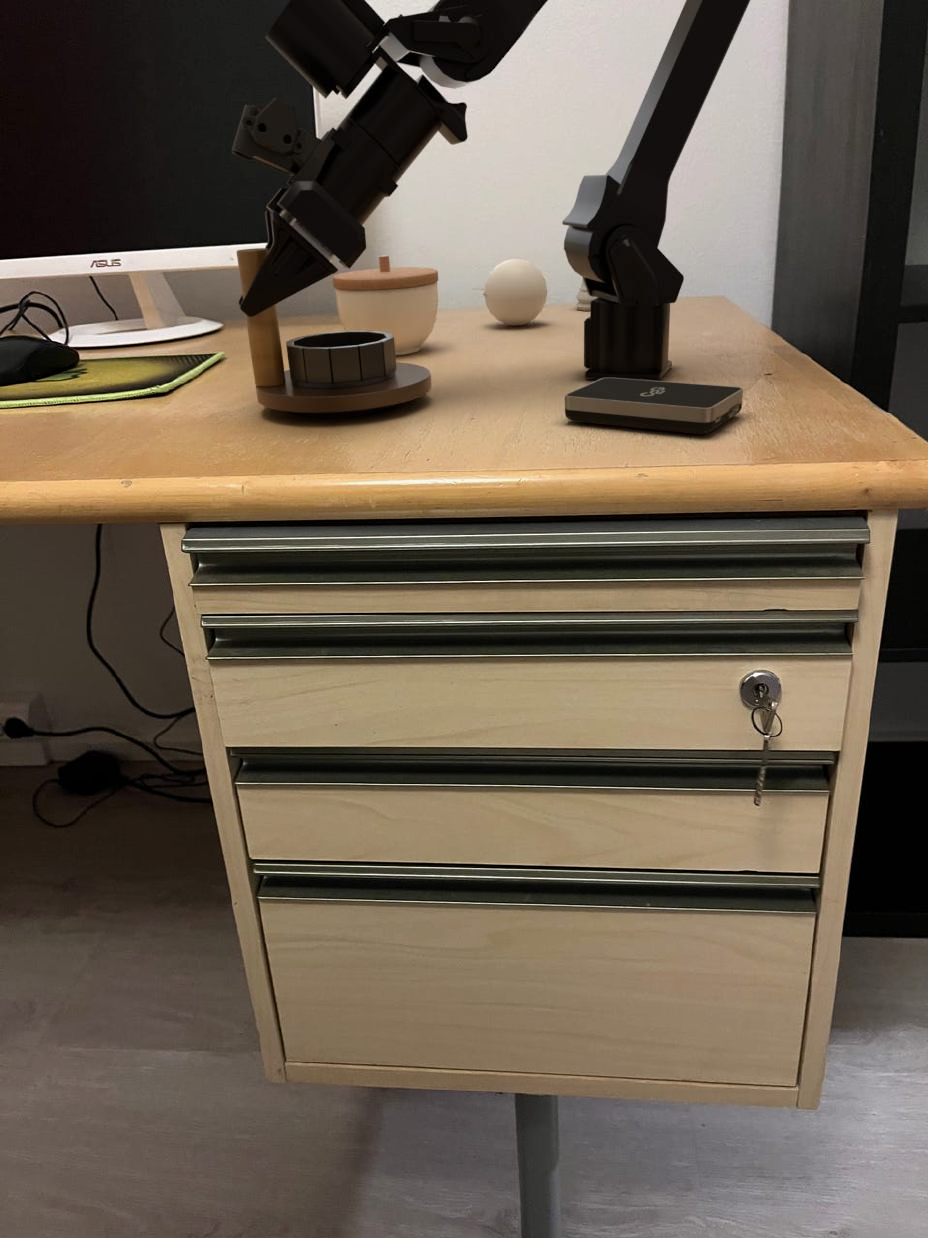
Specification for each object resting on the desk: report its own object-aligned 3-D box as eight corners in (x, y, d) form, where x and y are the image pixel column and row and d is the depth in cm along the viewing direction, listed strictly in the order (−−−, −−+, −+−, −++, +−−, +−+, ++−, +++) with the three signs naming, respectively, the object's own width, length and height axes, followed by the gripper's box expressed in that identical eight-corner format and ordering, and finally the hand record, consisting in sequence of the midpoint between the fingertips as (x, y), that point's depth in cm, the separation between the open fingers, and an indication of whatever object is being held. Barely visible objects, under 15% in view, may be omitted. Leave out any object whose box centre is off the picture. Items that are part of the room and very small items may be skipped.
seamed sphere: (561, 323, 111) (560, 256, 108) (515, 332, 107) (514, 262, 104) (502, 317, 118) (500, 254, 115) (457, 325, 114) (454, 259, 111)
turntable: (417, 369, 84) (408, 233, 80) (445, 402, 72) (436, 243, 67) (257, 383, 82) (238, 244, 78) (257, 420, 70) (234, 257, 65)
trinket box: (429, 359, 94) (422, 258, 90) (326, 361, 96) (315, 262, 92) (452, 341, 104) (447, 249, 100) (358, 342, 106) (349, 252, 102)
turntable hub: (411, 395, 80) (410, 383, 79) (369, 419, 73) (368, 406, 72) (326, 393, 82) (325, 381, 82) (278, 415, 76) (276, 402, 75)
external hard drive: (708, 439, 63) (710, 408, 62) (560, 423, 69) (559, 395, 68) (743, 415, 68) (745, 387, 67) (602, 402, 74) (603, 376, 73)
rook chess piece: (574, 311, 120) (574, 243, 116) (576, 306, 124) (576, 240, 120) (610, 310, 119) (611, 241, 116) (611, 305, 123) (612, 238, 119)
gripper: (280, 78, 77) (161, 233, 79) (299, 39, 60) (147, 236, 62) (384, 182, 81) (269, 325, 84) (428, 172, 65) (283, 352, 67)
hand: (243, 310), depth 74 cm, fingers open, 4 cm apart
